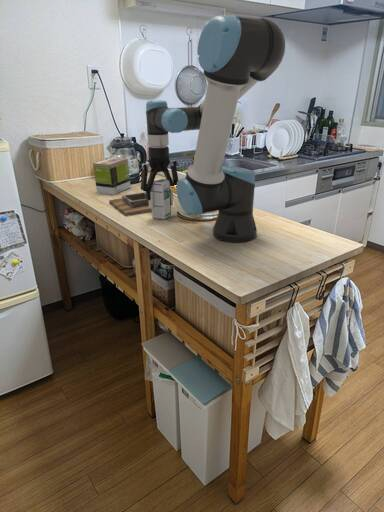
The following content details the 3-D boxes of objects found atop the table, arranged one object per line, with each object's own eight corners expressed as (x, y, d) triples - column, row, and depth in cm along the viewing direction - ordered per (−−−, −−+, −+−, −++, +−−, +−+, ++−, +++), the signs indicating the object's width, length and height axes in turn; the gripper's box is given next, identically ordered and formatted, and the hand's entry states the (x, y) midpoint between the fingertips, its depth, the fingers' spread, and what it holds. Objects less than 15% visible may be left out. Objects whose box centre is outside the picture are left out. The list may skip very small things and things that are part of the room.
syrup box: (164, 219, 145) (163, 182, 139) (151, 217, 147) (149, 181, 141) (171, 215, 149) (170, 179, 143) (158, 213, 152) (157, 177, 146)
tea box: (114, 186, 193) (112, 156, 187) (131, 188, 189) (128, 158, 183) (96, 193, 181) (92, 162, 175) (113, 195, 177) (109, 164, 171)
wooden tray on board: (170, 208, 158) (170, 199, 157) (125, 216, 149) (124, 206, 148) (150, 197, 174) (150, 188, 172) (109, 203, 165) (108, 194, 163)
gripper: (178, 142, 144) (179, 200, 154) (128, 147, 135) (132, 207, 145) (188, 145, 139) (188, 204, 148) (135, 150, 129) (140, 213, 139)
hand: (161, 206), depth 146 cm, fingers closed on syrup box, 8 cm apart
